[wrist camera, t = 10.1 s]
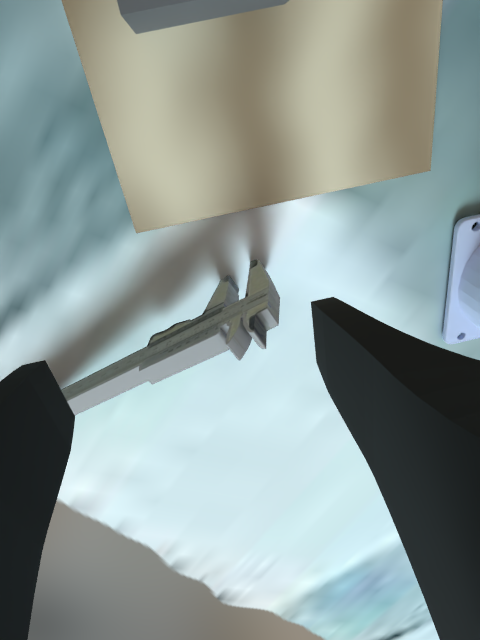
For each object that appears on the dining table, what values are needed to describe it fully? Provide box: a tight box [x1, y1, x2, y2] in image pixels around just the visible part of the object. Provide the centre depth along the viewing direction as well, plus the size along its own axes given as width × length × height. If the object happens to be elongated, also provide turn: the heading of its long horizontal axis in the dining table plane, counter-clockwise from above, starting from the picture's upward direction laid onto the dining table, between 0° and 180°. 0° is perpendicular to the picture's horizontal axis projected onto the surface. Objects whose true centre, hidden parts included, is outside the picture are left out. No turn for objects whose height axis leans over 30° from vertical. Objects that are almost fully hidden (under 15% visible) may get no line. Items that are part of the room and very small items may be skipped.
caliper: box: [61, 260, 280, 415], centre depth 20 cm, size 21×1×6 cm, turn 122°
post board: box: [62, 0, 443, 233], centre depth 14 cm, size 14×13×5 cm
